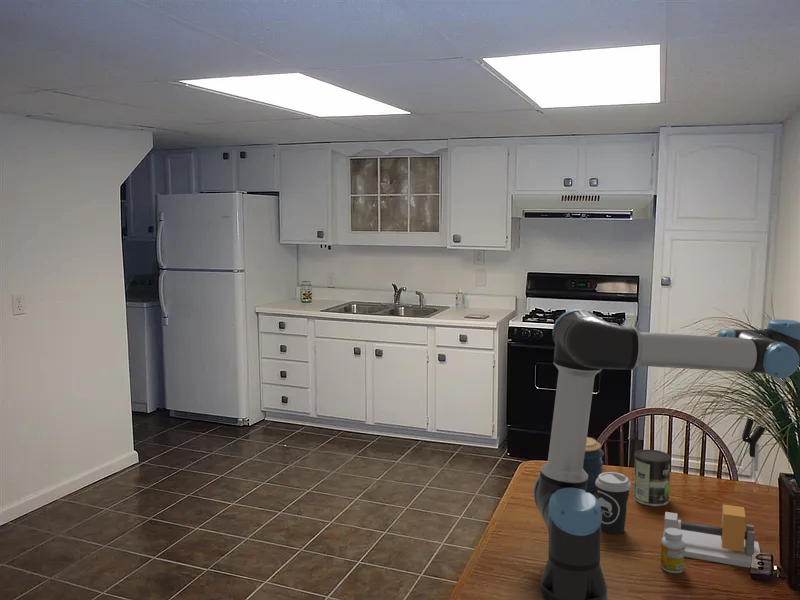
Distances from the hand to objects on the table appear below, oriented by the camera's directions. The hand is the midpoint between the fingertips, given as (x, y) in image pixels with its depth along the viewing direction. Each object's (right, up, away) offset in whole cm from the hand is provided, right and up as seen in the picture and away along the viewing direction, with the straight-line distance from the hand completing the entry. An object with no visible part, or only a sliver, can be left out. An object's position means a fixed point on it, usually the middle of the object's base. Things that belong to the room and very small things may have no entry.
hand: (776, 471), depth 170 cm
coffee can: (-17, -19, +40) cm, 47 cm away
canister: (-35, -17, +49) cm, 63 cm away
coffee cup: (-34, -21, +21) cm, 46 cm away
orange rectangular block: (-8, -20, +6) cm, 23 cm away
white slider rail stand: (-12, -23, +9) cm, 27 cm away
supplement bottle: (-26, -24, 0) cm, 35 cm away
